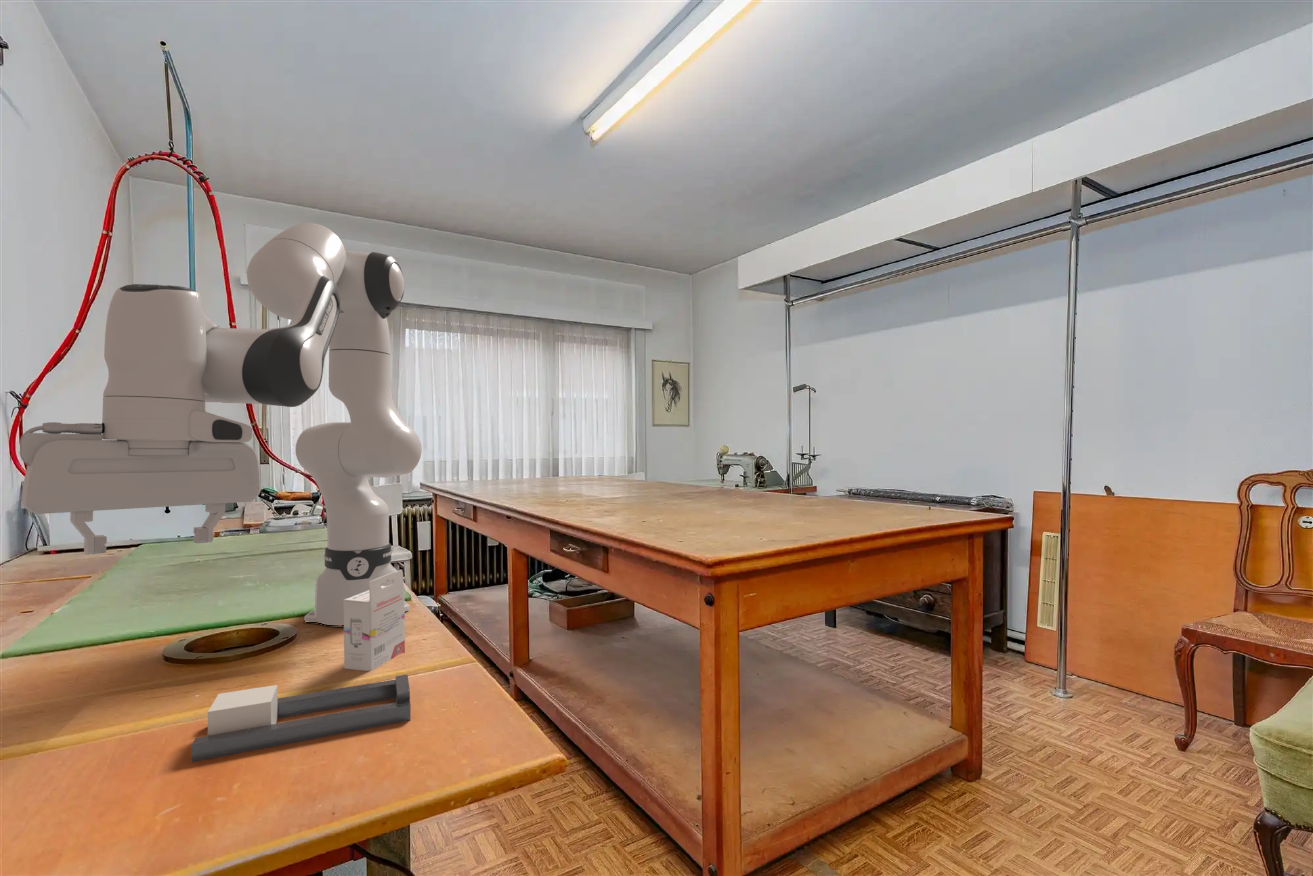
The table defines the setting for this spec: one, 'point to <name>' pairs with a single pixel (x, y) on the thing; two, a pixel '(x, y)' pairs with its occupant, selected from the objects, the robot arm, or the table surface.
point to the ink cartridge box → (375, 624)
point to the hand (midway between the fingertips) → (152, 547)
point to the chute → (315, 718)
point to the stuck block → (243, 710)
